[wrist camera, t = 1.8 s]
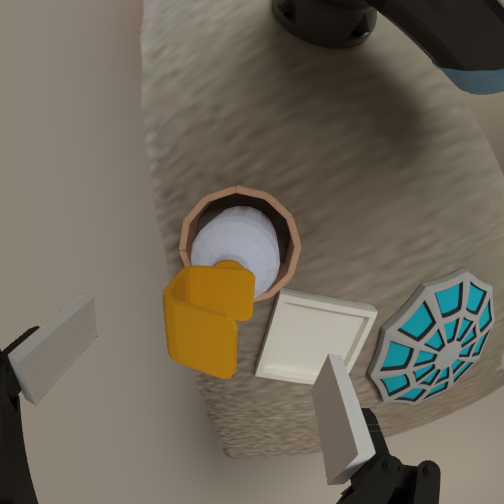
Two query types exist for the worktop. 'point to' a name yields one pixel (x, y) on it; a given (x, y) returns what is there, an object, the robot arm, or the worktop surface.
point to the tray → (311, 335)
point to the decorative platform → (433, 338)
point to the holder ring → (192, 219)
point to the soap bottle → (220, 289)
